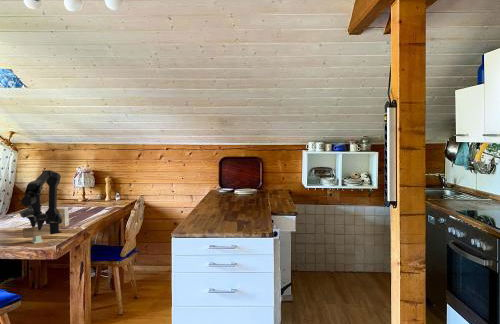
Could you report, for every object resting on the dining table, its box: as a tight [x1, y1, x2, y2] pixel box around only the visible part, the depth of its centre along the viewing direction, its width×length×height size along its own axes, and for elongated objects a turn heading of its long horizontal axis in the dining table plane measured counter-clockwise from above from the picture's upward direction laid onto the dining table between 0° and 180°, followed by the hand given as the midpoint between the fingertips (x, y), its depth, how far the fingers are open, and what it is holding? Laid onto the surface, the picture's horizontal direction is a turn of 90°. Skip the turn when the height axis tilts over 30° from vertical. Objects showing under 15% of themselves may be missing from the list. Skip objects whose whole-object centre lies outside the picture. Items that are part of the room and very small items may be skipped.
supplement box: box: [57, 206, 70, 228], centre depth 288 cm, size 8×5×13 cm, turn 81°
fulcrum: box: [30, 235, 44, 244], centre depth 245 cm, size 5×5×4 cm
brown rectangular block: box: [22, 224, 51, 239], centre depth 245 cm, size 4×14×5 cm, turn 132°
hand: (36, 229), depth 245 cm, fingers open, 9 cm apart
